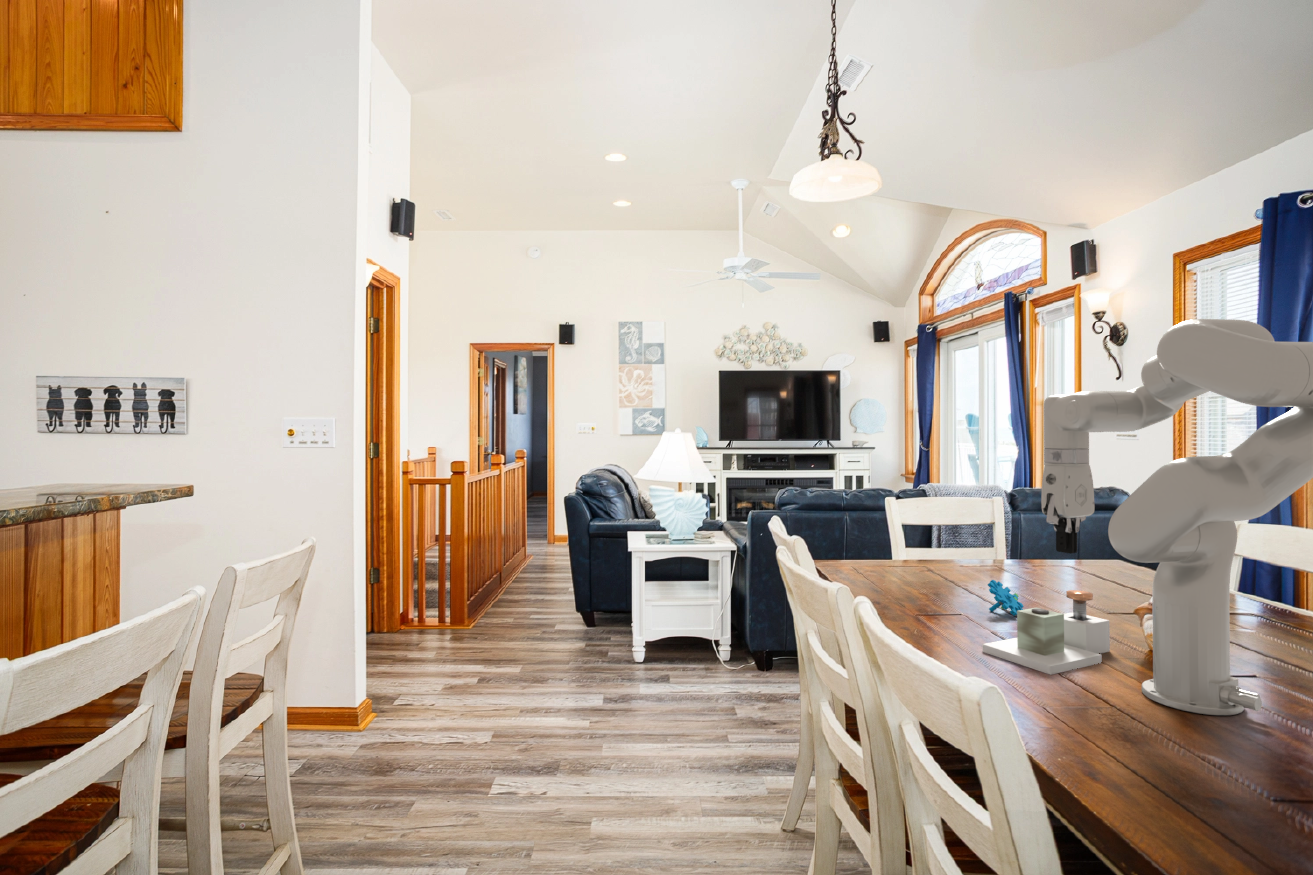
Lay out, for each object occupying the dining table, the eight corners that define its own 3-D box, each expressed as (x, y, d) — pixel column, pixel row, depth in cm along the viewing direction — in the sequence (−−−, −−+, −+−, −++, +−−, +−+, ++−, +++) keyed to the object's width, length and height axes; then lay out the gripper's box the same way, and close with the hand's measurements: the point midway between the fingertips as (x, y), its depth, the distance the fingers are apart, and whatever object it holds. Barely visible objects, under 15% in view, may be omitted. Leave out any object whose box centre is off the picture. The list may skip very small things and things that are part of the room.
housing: (1064, 651, 125) (1063, 611, 125) (1044, 655, 123) (1044, 615, 123) (1037, 643, 130) (1036, 605, 130) (1017, 647, 128) (1017, 608, 128)
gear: (1014, 614, 150) (985, 577, 157) (994, 629, 153) (966, 592, 160) (1036, 613, 157) (1006, 578, 163) (1016, 627, 160) (988, 592, 166)
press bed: (1128, 656, 126) (1128, 624, 126) (1050, 674, 117) (1050, 640, 117) (1057, 636, 139) (1057, 607, 139) (982, 651, 130) (982, 620, 130)
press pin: (1098, 624, 130) (1098, 593, 130) (1083, 627, 128) (1083, 596, 128) (1076, 619, 134) (1075, 589, 134) (1061, 621, 132) (1061, 591, 132)
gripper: (1061, 459, 123) (1062, 559, 123) (1109, 457, 130) (1109, 551, 130) (1023, 458, 130) (1023, 552, 130) (1070, 456, 137) (1070, 546, 137)
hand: (1066, 551), depth 130 cm, fingers closed
